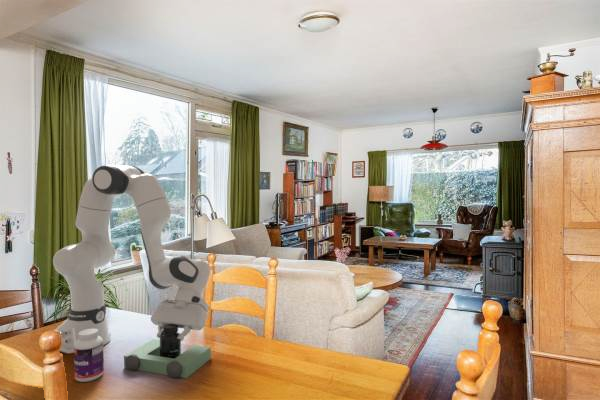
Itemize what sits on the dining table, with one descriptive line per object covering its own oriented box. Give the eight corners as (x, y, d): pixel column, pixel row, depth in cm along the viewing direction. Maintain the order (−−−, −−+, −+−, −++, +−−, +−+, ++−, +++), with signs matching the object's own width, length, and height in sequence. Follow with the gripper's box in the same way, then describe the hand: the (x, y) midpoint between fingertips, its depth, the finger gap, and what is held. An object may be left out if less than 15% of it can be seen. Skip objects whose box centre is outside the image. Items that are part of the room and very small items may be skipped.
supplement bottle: (174, 366, 125) (174, 330, 125) (155, 365, 126) (155, 328, 126) (184, 358, 132) (184, 323, 131) (166, 356, 133) (166, 322, 133)
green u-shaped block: (121, 369, 124) (121, 354, 124) (153, 350, 138) (152, 336, 138) (184, 380, 116) (183, 363, 116) (210, 358, 131) (210, 344, 131)
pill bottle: (68, 380, 117) (66, 334, 117) (91, 369, 125) (90, 325, 124) (87, 385, 114) (85, 338, 114) (109, 373, 122) (108, 328, 121)
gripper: (157, 295, 138) (139, 331, 129) (206, 299, 132) (190, 338, 123) (166, 303, 143) (148, 339, 134) (213, 308, 136) (198, 346, 127)
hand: (169, 338), depth 128 cm, fingers closed on supplement bottle, 7 cm apart
